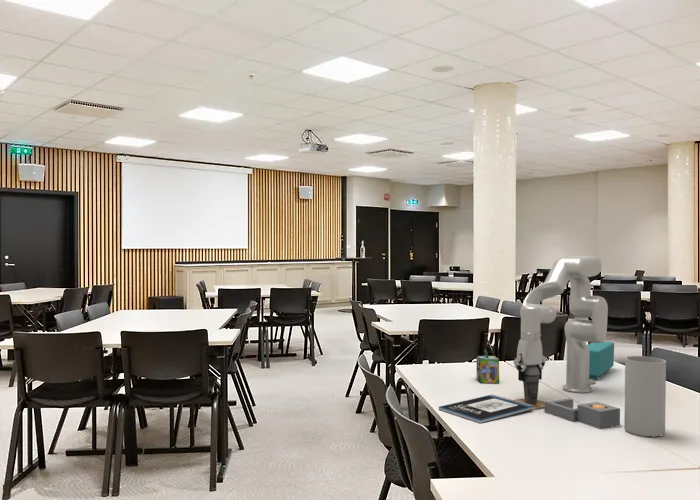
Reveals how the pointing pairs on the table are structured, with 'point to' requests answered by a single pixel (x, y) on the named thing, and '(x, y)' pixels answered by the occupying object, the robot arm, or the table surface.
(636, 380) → the cylinder vase
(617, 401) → the table surface
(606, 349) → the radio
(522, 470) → the table surface
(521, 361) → the robot arm
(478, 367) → the chalk box
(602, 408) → the brown egg
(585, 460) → the table surface
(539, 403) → the pad
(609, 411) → the grey hollow tray
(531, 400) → the beverage cup
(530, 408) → the sketchbook
